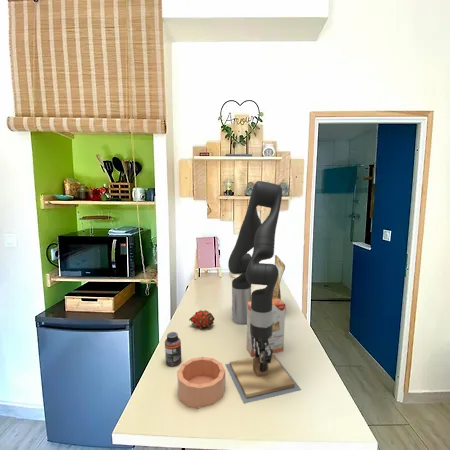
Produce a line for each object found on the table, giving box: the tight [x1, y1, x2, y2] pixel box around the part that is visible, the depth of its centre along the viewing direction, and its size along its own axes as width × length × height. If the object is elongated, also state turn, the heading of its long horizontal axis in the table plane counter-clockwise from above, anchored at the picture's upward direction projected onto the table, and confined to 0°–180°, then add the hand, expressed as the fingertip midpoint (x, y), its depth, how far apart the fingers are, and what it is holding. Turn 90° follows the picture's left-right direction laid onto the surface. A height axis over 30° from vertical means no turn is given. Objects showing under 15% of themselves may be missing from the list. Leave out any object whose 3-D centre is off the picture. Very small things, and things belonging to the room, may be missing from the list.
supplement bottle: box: [164, 331, 182, 367], centre depth 110 cm, size 6×6×11 cm
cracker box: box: [246, 298, 286, 358], centre depth 115 cm, size 14×6×21 cm, turn 105°
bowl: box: [176, 356, 226, 410], centre depth 95 cm, size 15×15×7 cm
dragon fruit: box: [188, 309, 215, 330], centre depth 137 cm, size 8×8×12 cm
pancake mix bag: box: [272, 254, 286, 301], centre depth 151 cm, size 7×19×28 cm, turn 176°
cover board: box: [229, 353, 295, 398], centre depth 101 cm, size 17×17×6 cm
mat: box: [225, 354, 302, 404], centre depth 101 cm, size 20×20×1 cm
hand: (260, 366), depth 101 cm, fingers closed on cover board, 4 cm apart
